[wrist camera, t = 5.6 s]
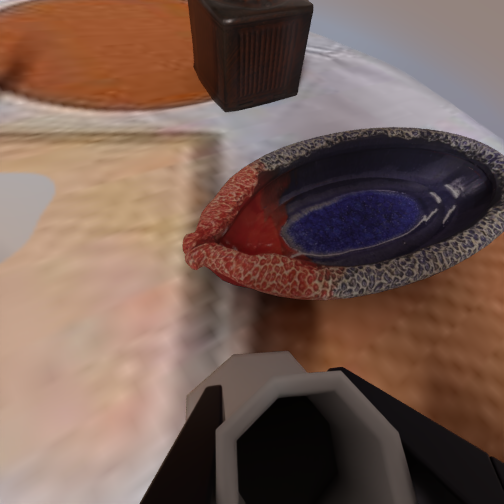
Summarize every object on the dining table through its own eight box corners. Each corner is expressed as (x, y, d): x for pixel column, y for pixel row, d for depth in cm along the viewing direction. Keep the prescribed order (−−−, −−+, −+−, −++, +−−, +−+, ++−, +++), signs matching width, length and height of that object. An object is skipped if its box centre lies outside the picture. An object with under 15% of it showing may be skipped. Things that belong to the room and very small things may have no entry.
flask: (294, 329, 15) (374, 227, 7) (368, 483, 12) (702, 672, 4) (164, 384, 14) (41, 345, 5) (211, 579, 11) (107, 1393, 2)
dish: (534, 251, 26) (594, 218, 22) (211, 359, 20) (205, 343, 15) (431, 142, 33) (461, 101, 29) (170, 196, 27) (158, 153, 22)
